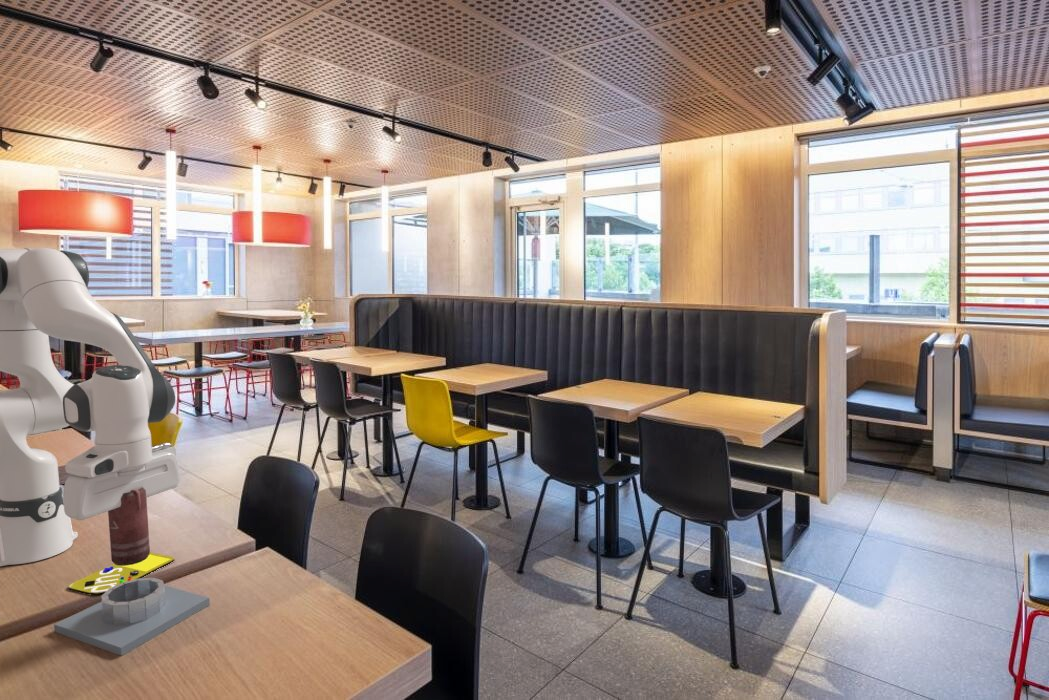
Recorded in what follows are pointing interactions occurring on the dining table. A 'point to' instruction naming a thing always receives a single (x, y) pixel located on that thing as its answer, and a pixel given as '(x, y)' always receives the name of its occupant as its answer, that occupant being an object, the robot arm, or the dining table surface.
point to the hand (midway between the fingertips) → (129, 525)
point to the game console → (119, 575)
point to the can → (129, 529)
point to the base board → (128, 637)
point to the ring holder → (133, 601)
